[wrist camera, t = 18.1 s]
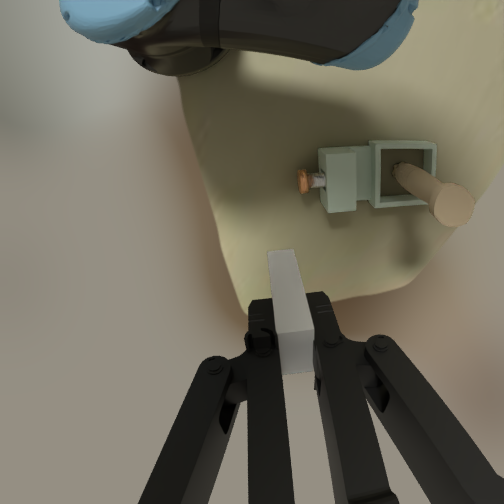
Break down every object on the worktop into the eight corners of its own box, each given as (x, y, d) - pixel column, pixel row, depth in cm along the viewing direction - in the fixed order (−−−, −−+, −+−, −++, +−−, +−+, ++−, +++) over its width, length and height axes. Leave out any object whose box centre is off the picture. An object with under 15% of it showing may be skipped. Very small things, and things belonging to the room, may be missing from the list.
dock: (317, 142, 39) (325, 148, 35) (428, 140, 38) (444, 147, 34) (320, 206, 44) (328, 218, 39) (425, 198, 43) (439, 208, 39)
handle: (386, 151, 39) (441, 180, 26) (419, 161, 40) (479, 193, 27) (378, 181, 42) (428, 221, 28) (412, 189, 42) (466, 230, 29)
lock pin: (296, 167, 40) (300, 173, 37) (345, 164, 40) (352, 169, 37) (298, 189, 41) (301, 196, 39) (345, 185, 41) (352, 192, 38)
